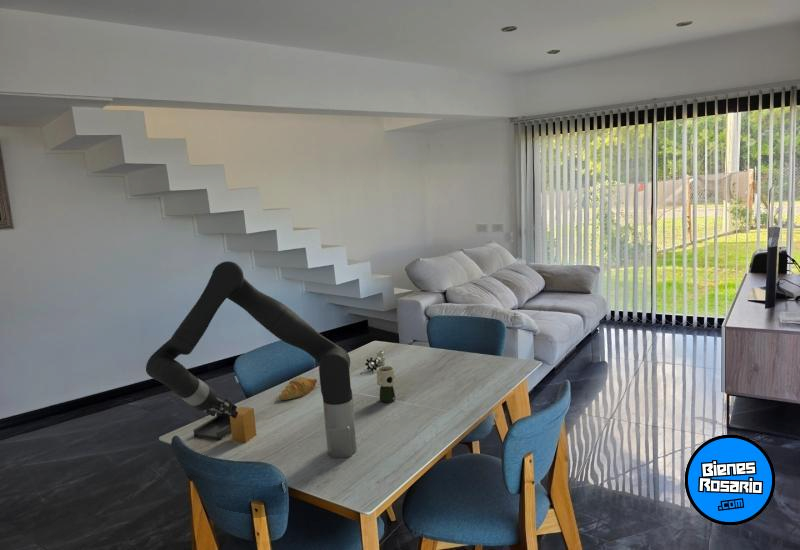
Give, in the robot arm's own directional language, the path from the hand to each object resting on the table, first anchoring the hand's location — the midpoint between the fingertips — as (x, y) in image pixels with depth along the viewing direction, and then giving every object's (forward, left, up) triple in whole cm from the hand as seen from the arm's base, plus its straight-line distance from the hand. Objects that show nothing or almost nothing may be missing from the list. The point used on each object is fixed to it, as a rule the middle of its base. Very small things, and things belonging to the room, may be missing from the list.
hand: (225, 414), depth 179 cm
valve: (+73, -52, -12) cm, 91 cm away
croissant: (+48, -18, -12) cm, 53 cm away
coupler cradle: (+17, +7, -12) cm, 22 cm away
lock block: (+8, -4, -12) cm, 15 cm away
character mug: (+31, -55, -12) cm, 64 cm away
